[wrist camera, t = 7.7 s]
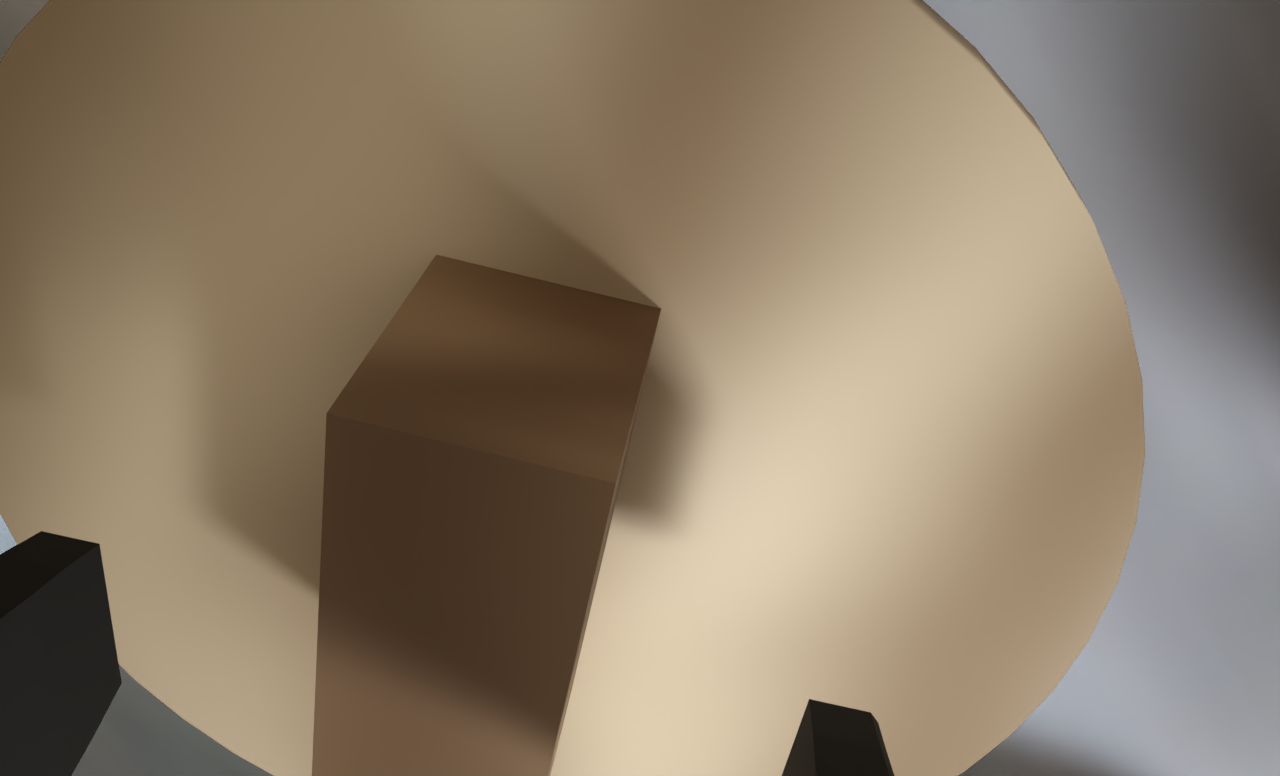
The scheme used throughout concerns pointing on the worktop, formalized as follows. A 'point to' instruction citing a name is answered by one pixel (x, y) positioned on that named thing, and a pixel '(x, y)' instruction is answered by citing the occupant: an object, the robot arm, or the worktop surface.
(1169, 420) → the worktop surface
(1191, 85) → the worktop surface
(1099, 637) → the worktop surface
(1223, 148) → the worktop surface
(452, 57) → the lid
